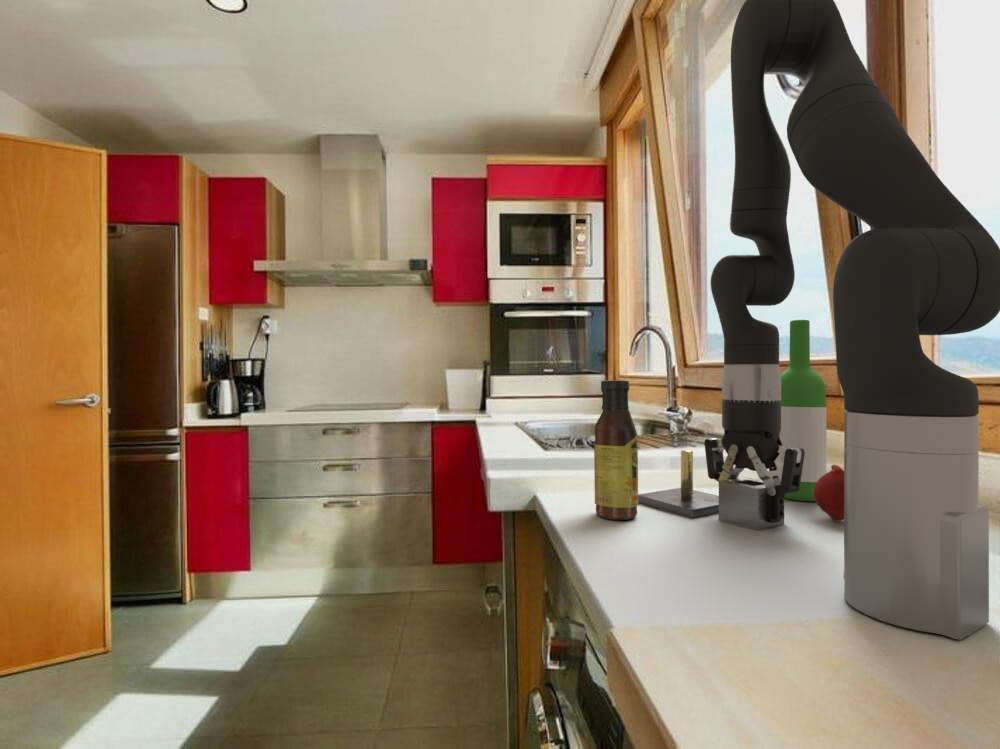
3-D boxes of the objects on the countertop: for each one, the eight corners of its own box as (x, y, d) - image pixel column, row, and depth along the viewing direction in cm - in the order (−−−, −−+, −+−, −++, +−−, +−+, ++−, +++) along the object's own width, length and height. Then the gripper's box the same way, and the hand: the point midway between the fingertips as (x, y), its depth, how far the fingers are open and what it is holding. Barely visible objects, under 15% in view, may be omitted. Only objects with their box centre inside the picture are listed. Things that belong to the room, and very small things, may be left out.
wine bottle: (784, 490, 94) (785, 323, 94) (833, 498, 88) (833, 320, 88) (765, 496, 89) (765, 320, 89) (815, 505, 83) (816, 316, 83)
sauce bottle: (643, 522, 73) (643, 380, 73) (598, 521, 73) (598, 380, 73) (632, 510, 80) (632, 380, 80) (591, 509, 80) (591, 379, 80)
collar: (784, 524, 72) (784, 484, 72) (758, 530, 69) (758, 489, 69) (744, 514, 77) (744, 477, 77) (718, 519, 74) (718, 481, 74)
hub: (739, 508, 81) (739, 452, 81) (692, 518, 75) (692, 458, 75) (682, 494, 90) (682, 444, 90) (636, 502, 85) (636, 449, 85)
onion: (848, 516, 76) (848, 461, 76) (872, 527, 71) (872, 468, 71) (806, 515, 77) (806, 461, 77) (826, 526, 71) (826, 467, 71)
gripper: (818, 398, 69) (818, 525, 69) (723, 395, 81) (722, 502, 81) (785, 399, 65) (785, 534, 65) (690, 395, 78) (690, 508, 78)
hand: (750, 516), depth 73 cm, fingers closed on collar, 6 cm apart
